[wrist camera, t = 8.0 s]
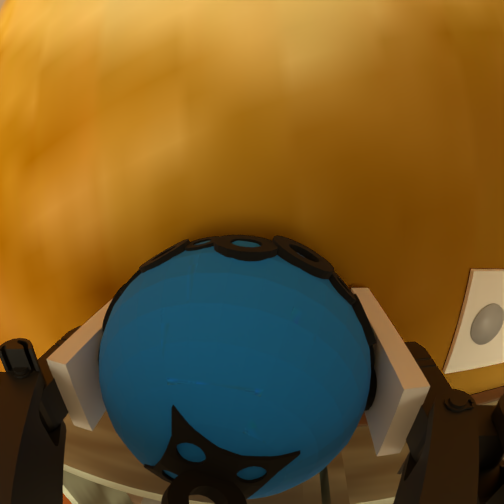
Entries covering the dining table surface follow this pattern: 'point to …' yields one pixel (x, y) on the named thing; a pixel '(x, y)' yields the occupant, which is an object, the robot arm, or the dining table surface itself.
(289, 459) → the ornament
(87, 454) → the two-compartment wooden tray
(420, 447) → the robot arm
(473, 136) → the dining table surface
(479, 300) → the card
